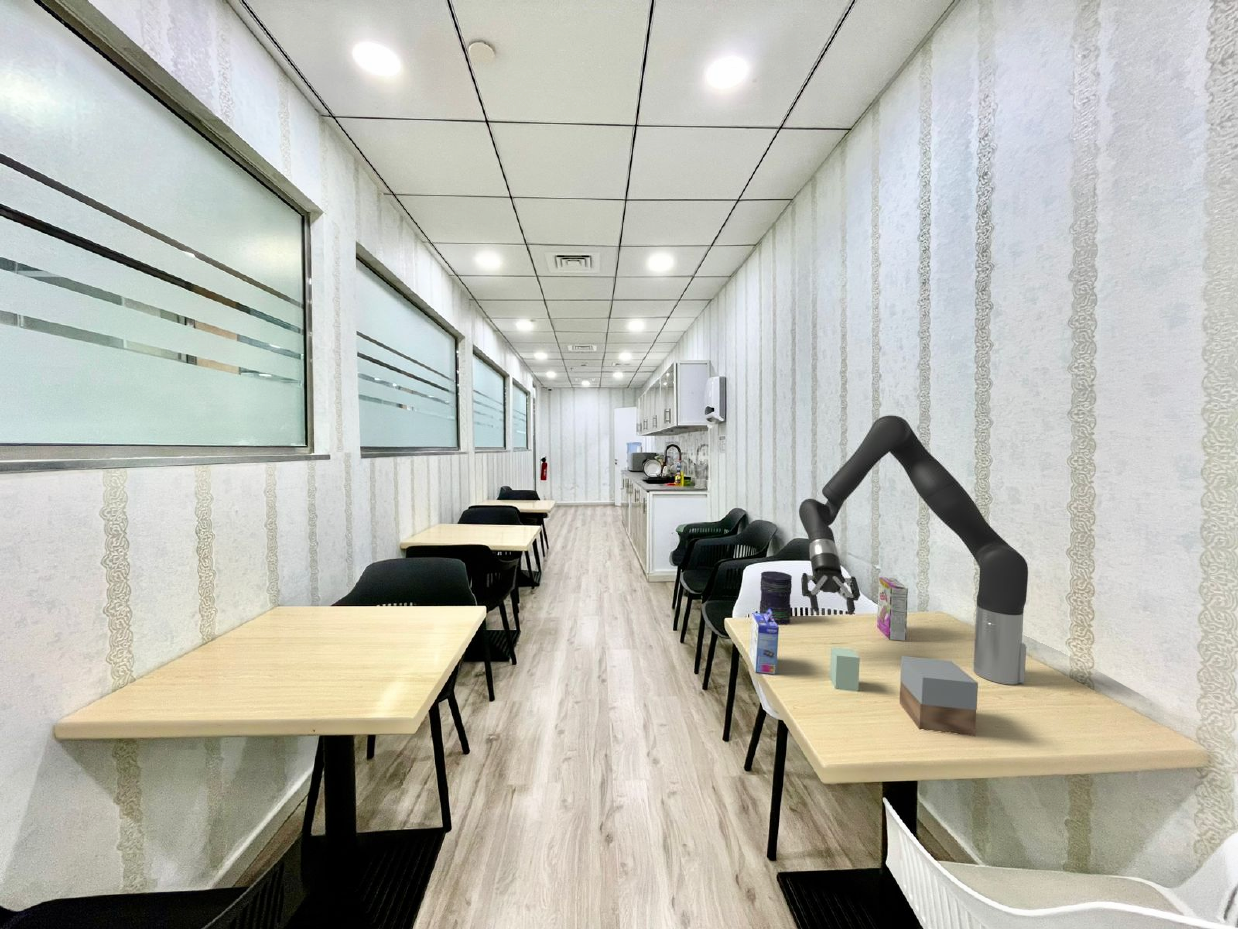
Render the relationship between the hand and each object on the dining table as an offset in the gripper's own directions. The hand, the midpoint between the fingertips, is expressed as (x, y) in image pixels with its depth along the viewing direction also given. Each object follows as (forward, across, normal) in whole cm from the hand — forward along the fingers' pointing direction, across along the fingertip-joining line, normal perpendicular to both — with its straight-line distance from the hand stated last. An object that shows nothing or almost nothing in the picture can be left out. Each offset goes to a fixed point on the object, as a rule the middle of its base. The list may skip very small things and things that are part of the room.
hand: (833, 612), depth 122 cm
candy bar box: (-9, +24, +29) cm, 39 cm away
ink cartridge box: (+14, -18, +7) cm, 23 cm away
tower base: (+26, +15, -5) cm, 30 cm away
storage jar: (-12, -10, +32) cm, 36 cm away
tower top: (+22, +15, -9) cm, 28 cm away
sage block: (+18, 0, +2) cm, 18 cm away
